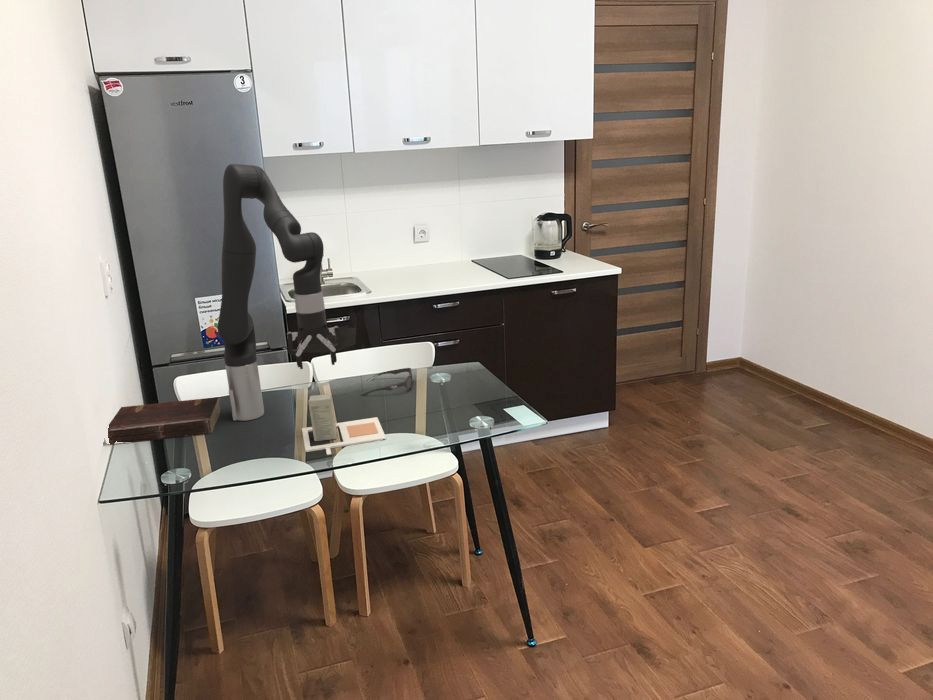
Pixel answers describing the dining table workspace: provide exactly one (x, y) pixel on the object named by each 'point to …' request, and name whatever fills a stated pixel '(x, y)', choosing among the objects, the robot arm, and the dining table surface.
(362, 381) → the dining table surface
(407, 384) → the sunglasses
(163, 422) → the hardback book
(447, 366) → the dining table surface
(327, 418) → the skincare box
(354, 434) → the window card
